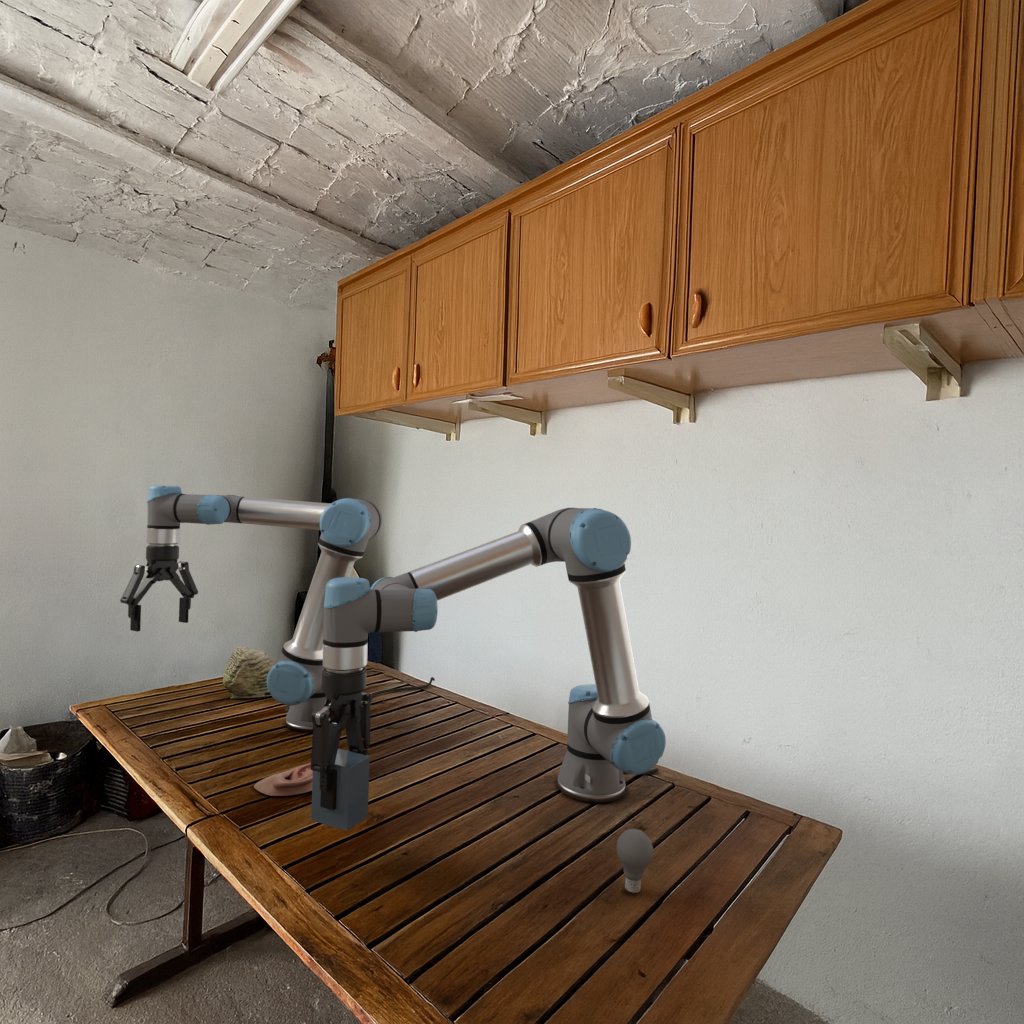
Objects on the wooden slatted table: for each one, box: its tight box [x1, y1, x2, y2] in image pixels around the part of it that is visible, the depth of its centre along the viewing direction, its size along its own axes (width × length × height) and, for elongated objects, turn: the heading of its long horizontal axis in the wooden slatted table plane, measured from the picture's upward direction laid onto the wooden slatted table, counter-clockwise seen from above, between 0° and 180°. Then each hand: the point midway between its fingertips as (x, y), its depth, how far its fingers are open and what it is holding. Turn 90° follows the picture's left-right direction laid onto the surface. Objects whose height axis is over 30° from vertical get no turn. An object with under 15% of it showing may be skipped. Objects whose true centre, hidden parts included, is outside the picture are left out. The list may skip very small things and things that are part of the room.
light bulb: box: [615, 828, 654, 894], centre depth 106 cm, size 6×6×10 cm
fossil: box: [222, 646, 276, 699], centre depth 198 cm, size 9×18×15 cm, turn 132°
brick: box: [310, 748, 371, 832], centre depth 110 cm, size 6×8×11 cm
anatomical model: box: [253, 762, 313, 797], centre depth 138 cm, size 13×4×12 cm
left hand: (160, 626), depth 165 cm, fingers open, 13 cm apart
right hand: (340, 799), depth 110 cm, fingers closed on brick, 6 cm apart
